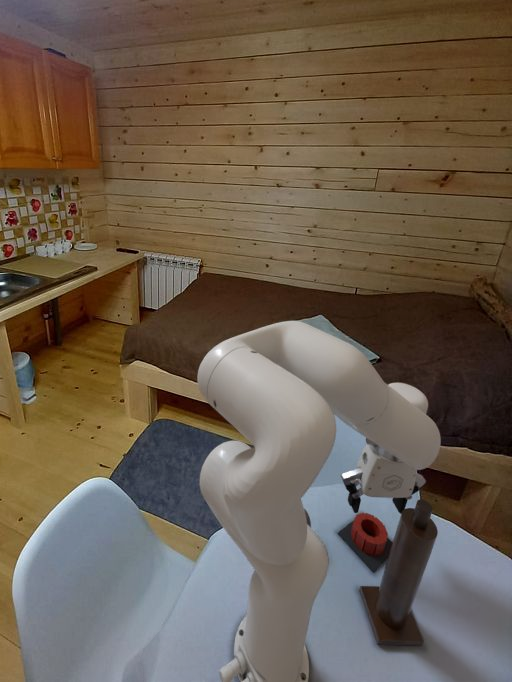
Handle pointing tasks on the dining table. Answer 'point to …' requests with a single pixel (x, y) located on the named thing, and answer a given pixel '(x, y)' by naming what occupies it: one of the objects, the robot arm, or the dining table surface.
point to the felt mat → (369, 560)
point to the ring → (365, 541)
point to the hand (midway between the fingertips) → (375, 507)
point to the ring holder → (401, 579)
